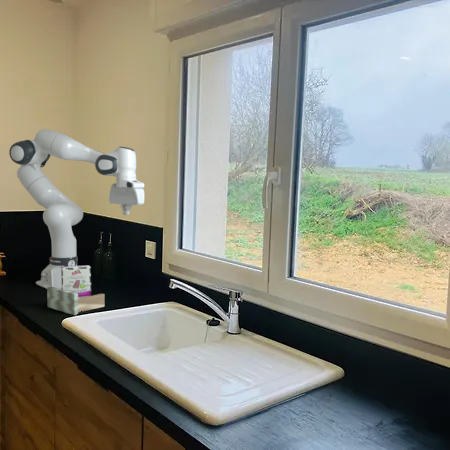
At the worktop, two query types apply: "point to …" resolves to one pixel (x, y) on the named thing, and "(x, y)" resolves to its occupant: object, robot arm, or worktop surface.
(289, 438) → the worktop surface
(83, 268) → the candy bar box
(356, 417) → the worktop surface
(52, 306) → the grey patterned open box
